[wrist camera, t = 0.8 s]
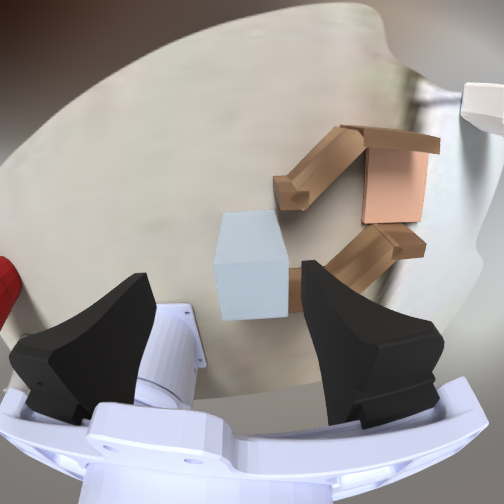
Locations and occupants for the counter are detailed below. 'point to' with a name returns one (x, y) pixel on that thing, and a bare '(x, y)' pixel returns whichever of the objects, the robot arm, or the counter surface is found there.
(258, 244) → the slate block
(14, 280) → the plastic cup
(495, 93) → the pepper shaker
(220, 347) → the counter surface
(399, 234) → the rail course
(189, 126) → the counter surface
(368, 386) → the robot arm
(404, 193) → the coaster
